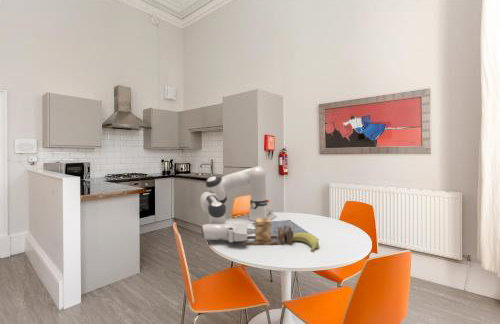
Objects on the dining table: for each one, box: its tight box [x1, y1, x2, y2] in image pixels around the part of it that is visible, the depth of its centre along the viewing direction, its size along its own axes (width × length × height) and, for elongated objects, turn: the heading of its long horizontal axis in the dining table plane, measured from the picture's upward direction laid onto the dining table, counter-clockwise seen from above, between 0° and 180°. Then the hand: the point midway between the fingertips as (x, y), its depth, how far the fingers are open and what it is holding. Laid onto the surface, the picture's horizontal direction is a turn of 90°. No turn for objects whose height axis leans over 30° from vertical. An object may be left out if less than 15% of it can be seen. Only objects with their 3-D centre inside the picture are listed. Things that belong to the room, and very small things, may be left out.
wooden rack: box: [241, 225, 294, 246], centre depth 146 cm, size 28×12×10 cm, turn 91°
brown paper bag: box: [254, 218, 272, 242], centre depth 147 cm, size 8×8×12 cm
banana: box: [293, 232, 320, 253], centre depth 140 cm, size 14×6×20 cm
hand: (255, 231), depth 146 cm, fingers closed, pressing on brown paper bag
